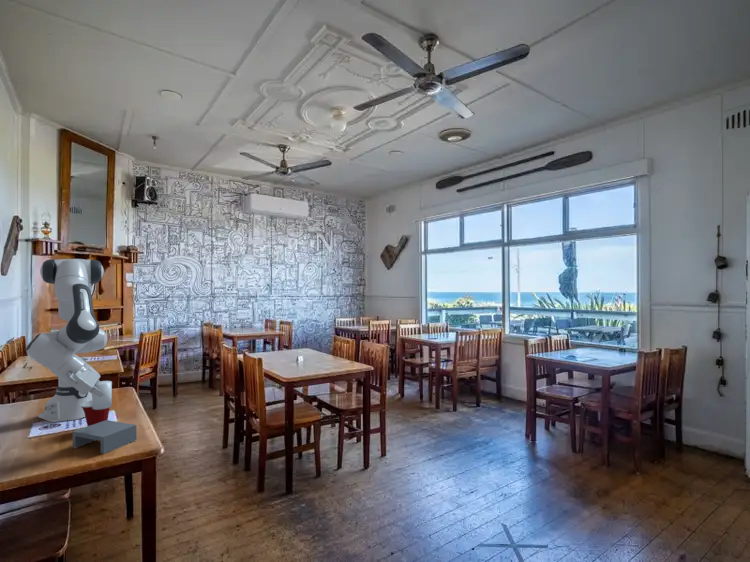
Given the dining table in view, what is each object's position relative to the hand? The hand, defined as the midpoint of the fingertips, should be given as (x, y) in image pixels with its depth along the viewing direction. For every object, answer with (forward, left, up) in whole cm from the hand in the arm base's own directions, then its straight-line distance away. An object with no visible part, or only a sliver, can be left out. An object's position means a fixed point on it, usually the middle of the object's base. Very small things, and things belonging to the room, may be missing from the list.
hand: (104, 392), depth 154 cm
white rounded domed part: (0, 0, -5) cm, 5 cm away
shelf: (0, 0, -19) cm, 19 cm away
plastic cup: (-17, +9, -19) cm, 27 cm away
